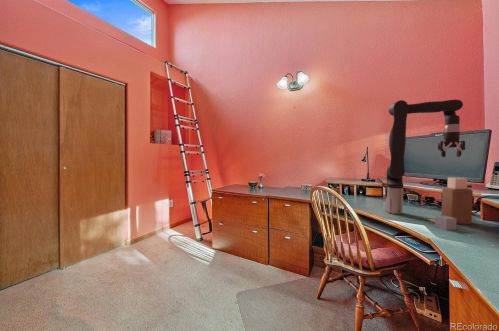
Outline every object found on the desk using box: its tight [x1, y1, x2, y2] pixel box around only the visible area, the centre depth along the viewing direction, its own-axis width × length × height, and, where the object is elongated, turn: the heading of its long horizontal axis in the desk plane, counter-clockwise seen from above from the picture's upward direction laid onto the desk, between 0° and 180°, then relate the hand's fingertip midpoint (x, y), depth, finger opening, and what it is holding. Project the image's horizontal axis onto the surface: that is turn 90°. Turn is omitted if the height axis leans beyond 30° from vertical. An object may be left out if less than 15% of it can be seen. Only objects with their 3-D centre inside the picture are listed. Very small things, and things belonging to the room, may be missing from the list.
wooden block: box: [441, 186, 474, 225], centre depth 130 cm, size 10×10×20 cm
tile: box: [424, 218, 435, 224], centre depth 131 cm, size 8×8×1 cm
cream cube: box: [446, 177, 468, 189], centre depth 129 cm, size 6×6×6 cm
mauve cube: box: [434, 215, 457, 231], centre depth 119 cm, size 6×6×6 cm
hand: (451, 156), depth 143 cm, fingers open, 8 cm apart
